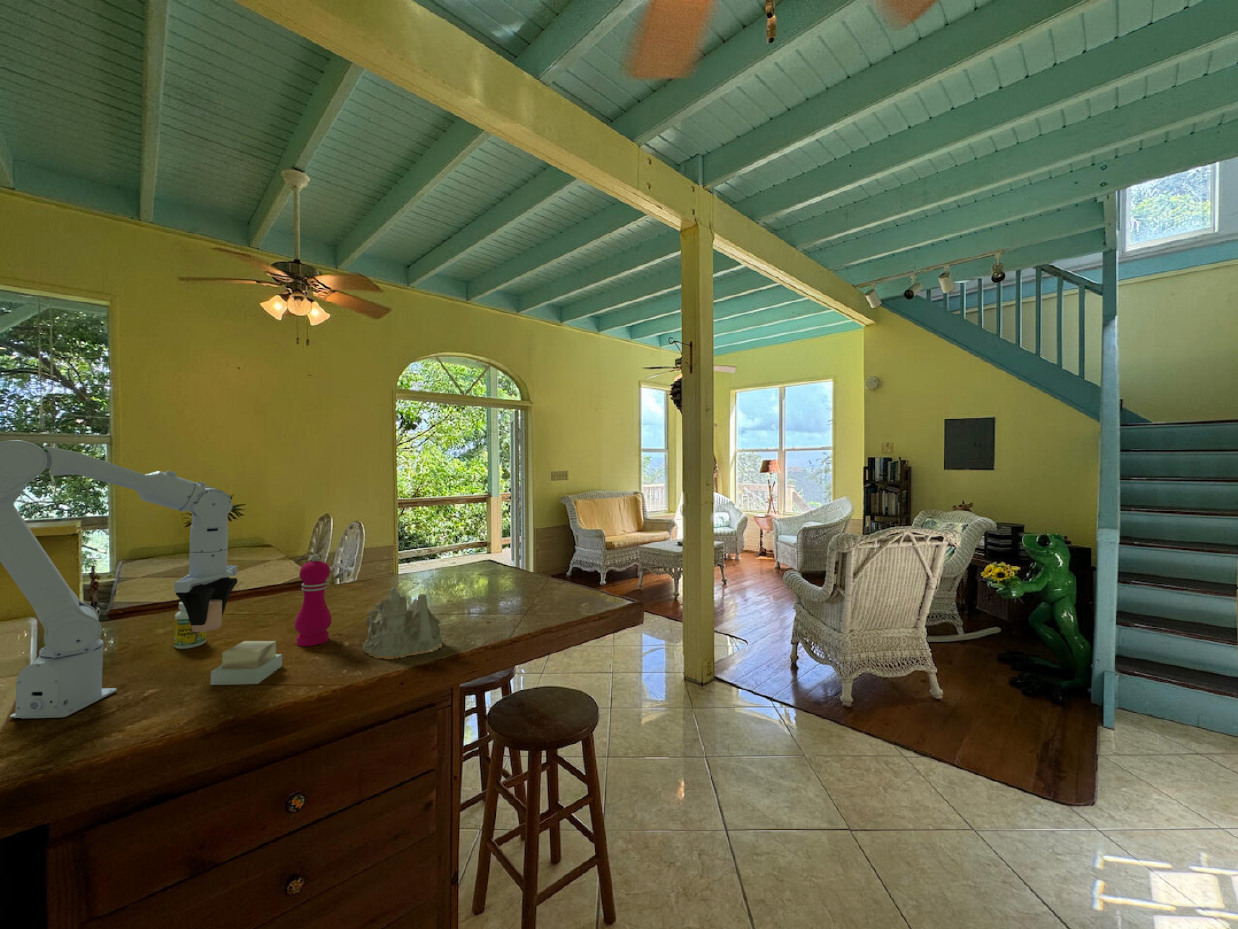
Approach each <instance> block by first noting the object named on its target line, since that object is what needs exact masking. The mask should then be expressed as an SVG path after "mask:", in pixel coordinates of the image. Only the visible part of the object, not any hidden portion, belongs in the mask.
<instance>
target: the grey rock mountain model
mask: <svg viewBox="0 0 1238 929" xmlns="http://www.w3.org/2000/svg"><path fill="white" fill-rule="evenodd" d="M388 595H389V596H388V598H382V600H381V602H378V603H377V602H376V603H375V607H374V609H369V612H368V616H367V619H366V623H365V625H367V630H368V631H367V639H366V640H365V641H364V642H363V647H362V651H363V650H364V651H366V652H369V653H371V654H372V655H375V656H401V655H405V654H409V653H411V652H415V651H422V650H429V649H432V648H434V647H436V646H437V645H438V644H440V643H442V642H443V637H442V636H441V635H440V634H441V628H440V626H439V625H440V624H441V623H442V622H441V620H439V619H438V618H437V617H436V616H435V615H434V614H433V613H432V611H431V610H430V609H429V607H428V597H427V594H426V593H419V594H418V595H417V598H414V600H413V601H412V603H411V604H410V606H409V608H408V603H407V602H408V601H407V597H406V595H402V596H401V593H400V591H397V588H396V587H395V586H394V587H393V586H392V587H391V588H390V591H389V594H388ZM407 608H408V609H407Z"/></svg>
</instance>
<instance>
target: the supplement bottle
mask: <svg viewBox="0 0 1238 929" xmlns="http://www.w3.org/2000/svg"><path fill="white" fill-rule="evenodd" d="M178 609H179V611H177V612H176V613H175V615H174V627H173V628H174V631H173V632H174V634H173V635H174V636H173V647H174V648H176V649H178V650H180V649H181V650H182V649H183V650H184V649H192V648H196V647H200V646H202V645H203V644H206V641H207V631H206V632H193V631H192V625H191V624H190V621H189V617H188V614H187V611H186V609H185V606H184V605H183V603H182V601H179V602H178Z"/></svg>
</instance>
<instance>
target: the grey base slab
mask: <svg viewBox="0 0 1238 929" xmlns="http://www.w3.org/2000/svg"><path fill="white" fill-rule="evenodd" d="M281 666H282V667H283V654H282V653H280V654H279V653H278V654H277V653H276V656H275V657H274V658H272V659H271V660H269V661H267V662H266V663H264V664H263V665H261V666H259V667H258V668H255V669H222V664H220V665H219V666H218V667H215V668H214V669H212V670H211V671H210V686H213V685H214V686H215V685H216V686H218V685H219V686H220V685H221V686H222V685H223V686H225V685H227V686H228V685H258V684H260V683H261V682H263V681H264V680H265V679H266V678H268V677H270V675H272V674H274V673H275V672H276V671H277V669H278V670H279V669H281V668H282V667H281ZM274 671H275V672H274Z"/></svg>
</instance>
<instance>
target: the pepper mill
mask: <svg viewBox="0 0 1238 929" xmlns="http://www.w3.org/2000/svg"><path fill="white" fill-rule="evenodd" d="M320 559H321V557H320V555H319V554H313V555H311V556H310V561H308V562H306V563H304V564H303V565H302V566H301V567H300V569H299V573H298V574H299V578H300V580H301V581H302V582H303V583H301V590H302V591H303V602H302V605H301V607H300V609H299V611H298V613H297V616H296V617H295V621H294V629H295V630H296V632H298V633H299V634H298V635H297V636H296V645H297V646H298V645H299V647H305V646H308V647H314V646H313V645H316V646H318V645H317V644H320V645H323V644H325V643H327V642H328V641H329V640H330V639H329V636H330V632H329V631H328V629H329V627H330V626H331V625H332V614H331V611H330V609H329V608H328V606H327V604H326V600H325V598H326V597H325V592H326V589H327V588H328V586H327V584H328V581H326V580H328V578H329V577H330V575H331V569H330V566H329V564H328V563H327V562H325V561H322V560H320ZM328 639H329V640H328ZM326 641H327V642H326ZM322 643H323V644H322Z"/></svg>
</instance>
